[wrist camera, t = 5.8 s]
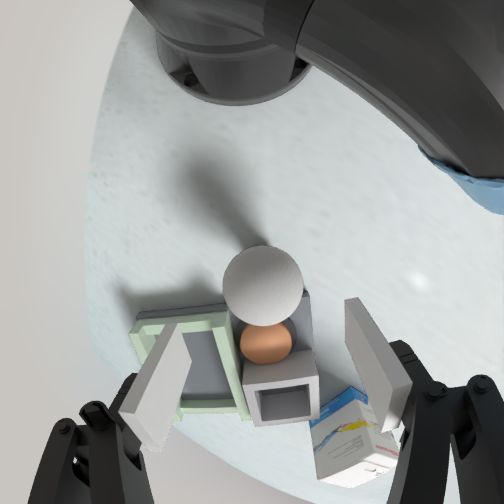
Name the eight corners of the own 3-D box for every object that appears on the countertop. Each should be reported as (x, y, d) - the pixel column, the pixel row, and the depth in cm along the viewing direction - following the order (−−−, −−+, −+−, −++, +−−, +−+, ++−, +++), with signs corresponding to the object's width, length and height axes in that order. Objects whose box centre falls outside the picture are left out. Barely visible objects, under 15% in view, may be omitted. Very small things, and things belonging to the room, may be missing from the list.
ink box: (305, 416, 34) (314, 482, 23) (352, 384, 32) (375, 452, 21) (339, 432, 35) (352, 489, 24) (382, 404, 33) (405, 462, 22)
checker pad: (236, 321, 27) (235, 327, 26) (287, 314, 27) (288, 320, 26) (245, 360, 29) (245, 366, 27) (292, 354, 28) (293, 360, 27)
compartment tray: (139, 312, 29) (119, 338, 24) (307, 291, 28) (317, 319, 22) (178, 400, 34) (169, 429, 28) (315, 390, 32) (321, 421, 27)
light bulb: (224, 271, 27) (205, 325, 18) (245, 217, 26) (235, 246, 16) (278, 291, 28) (285, 352, 18) (302, 239, 26) (324, 281, 17)
